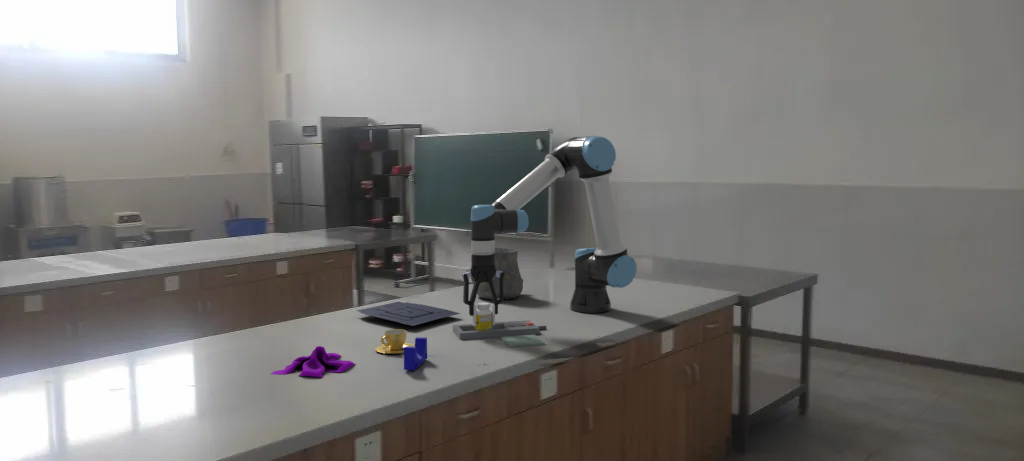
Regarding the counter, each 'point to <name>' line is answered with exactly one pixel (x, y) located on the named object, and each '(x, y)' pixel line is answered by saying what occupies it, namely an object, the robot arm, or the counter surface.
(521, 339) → the rubber mat
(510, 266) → the vessel
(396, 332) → the cup
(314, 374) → the cloth
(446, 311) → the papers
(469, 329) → the rectangular frame
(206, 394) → the counter surface
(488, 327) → the supplement bottle
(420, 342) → the cable clip
